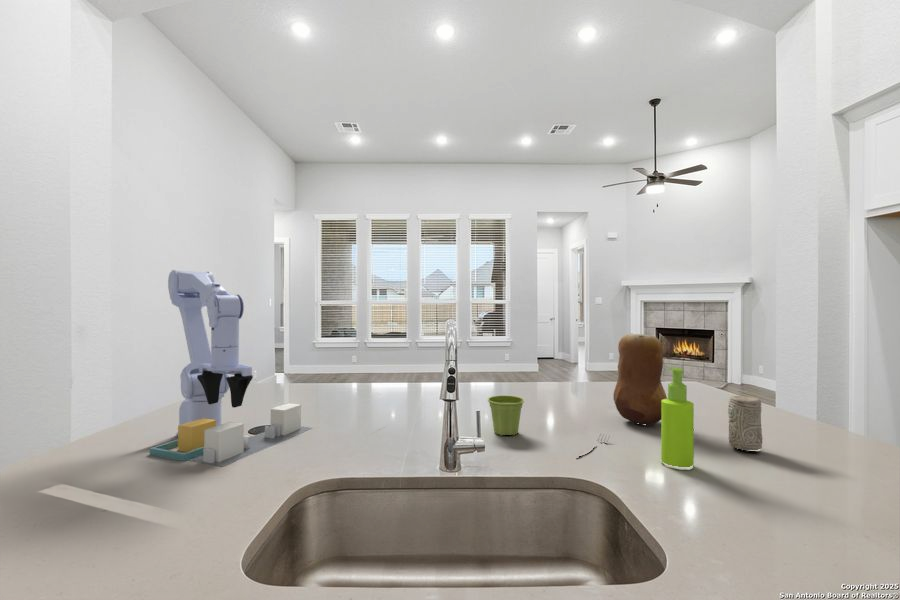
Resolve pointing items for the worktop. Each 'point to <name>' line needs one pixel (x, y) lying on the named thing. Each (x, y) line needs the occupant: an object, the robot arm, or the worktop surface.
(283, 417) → the block
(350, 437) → the worktop surface
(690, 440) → the soap dispenser
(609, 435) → the fork
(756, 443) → the carving
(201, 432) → the yellow rectangular block
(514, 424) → the plant pot
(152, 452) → the tray
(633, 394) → the butternut squash
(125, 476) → the worktop surface
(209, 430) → the block
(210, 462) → the board
